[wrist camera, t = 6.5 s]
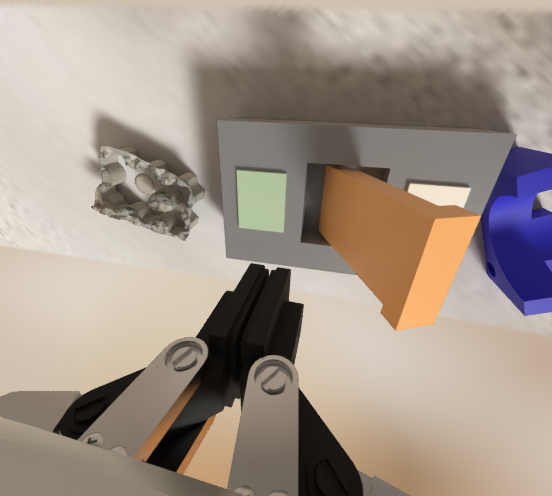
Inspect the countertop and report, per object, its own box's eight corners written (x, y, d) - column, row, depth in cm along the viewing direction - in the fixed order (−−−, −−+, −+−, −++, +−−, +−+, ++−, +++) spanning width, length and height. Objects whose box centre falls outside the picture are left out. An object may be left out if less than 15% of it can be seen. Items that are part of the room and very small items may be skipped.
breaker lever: (349, 161, 22) (481, 215, 11) (337, 231, 25) (433, 324, 14) (322, 162, 21) (435, 218, 11) (314, 233, 24) (395, 330, 14)
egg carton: (114, 197, 31) (85, 208, 27) (120, 134, 27) (87, 138, 23) (195, 236, 31) (177, 253, 28) (212, 180, 27) (194, 190, 24)
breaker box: (478, 128, 21) (519, 134, 16) (430, 257, 26) (450, 289, 22) (238, 117, 24) (215, 120, 19) (242, 235, 29) (225, 259, 25)
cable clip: (542, 263, 25) (598, 305, 20) (487, 274, 26) (524, 315, 21) (540, 138, 20) (610, 149, 15) (473, 160, 22) (516, 177, 17)
